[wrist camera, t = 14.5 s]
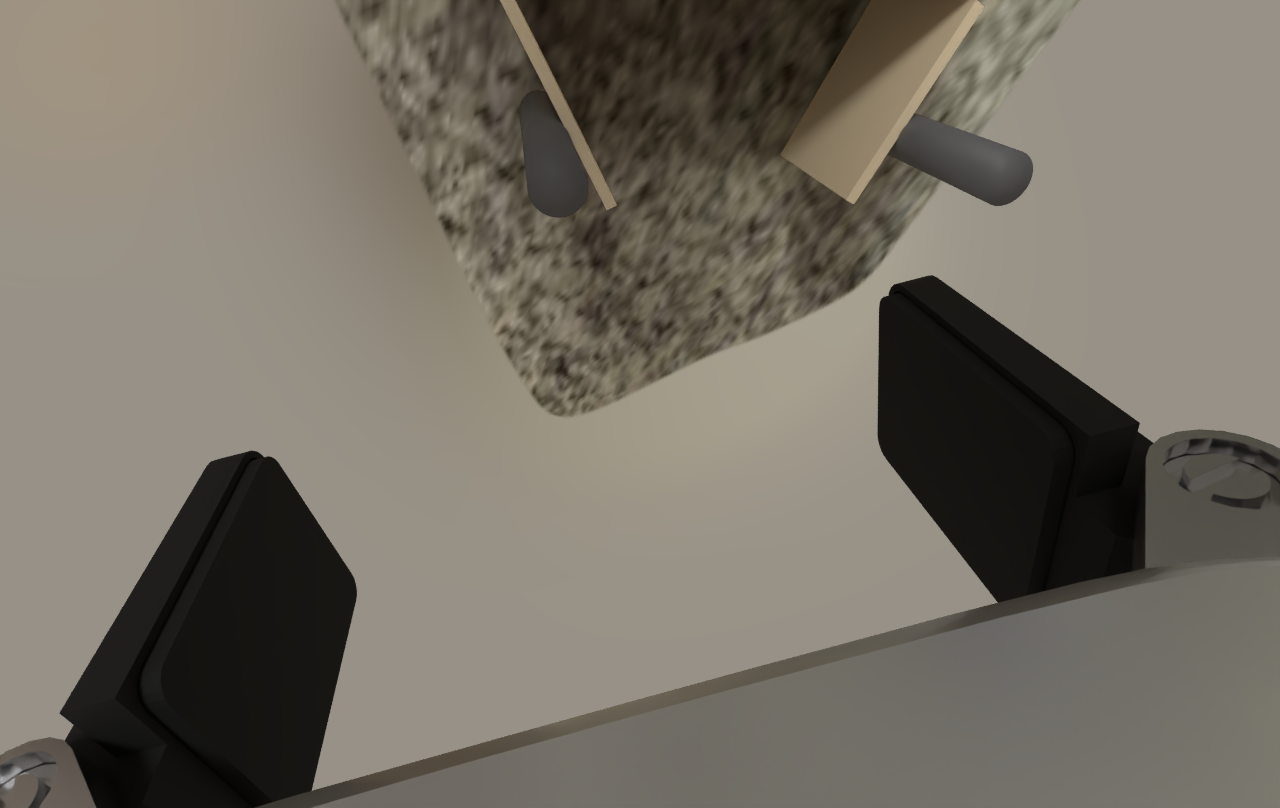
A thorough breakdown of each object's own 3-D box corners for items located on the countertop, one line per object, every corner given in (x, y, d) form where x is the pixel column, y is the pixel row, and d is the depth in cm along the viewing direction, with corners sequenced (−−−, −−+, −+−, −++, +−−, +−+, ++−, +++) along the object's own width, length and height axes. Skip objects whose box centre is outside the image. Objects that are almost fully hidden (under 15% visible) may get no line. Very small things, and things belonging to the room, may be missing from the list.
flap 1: (507, -18, 32) (510, -8, 19) (594, 156, 37) (642, 258, 24) (463, 8, 32) (436, 35, 19) (555, 178, 37) (581, 289, 24)
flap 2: (779, 155, 38) (917, 248, 26) (875, -7, 35) (1091, 7, 22) (812, 173, 39) (961, 273, 27) (909, 17, 36) (1135, 46, 23)
